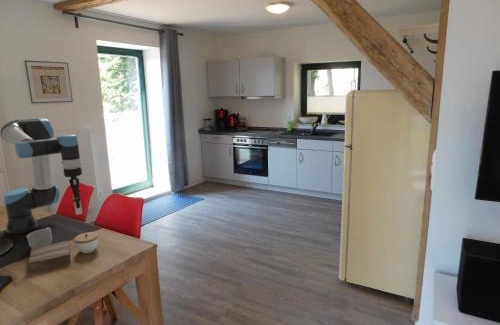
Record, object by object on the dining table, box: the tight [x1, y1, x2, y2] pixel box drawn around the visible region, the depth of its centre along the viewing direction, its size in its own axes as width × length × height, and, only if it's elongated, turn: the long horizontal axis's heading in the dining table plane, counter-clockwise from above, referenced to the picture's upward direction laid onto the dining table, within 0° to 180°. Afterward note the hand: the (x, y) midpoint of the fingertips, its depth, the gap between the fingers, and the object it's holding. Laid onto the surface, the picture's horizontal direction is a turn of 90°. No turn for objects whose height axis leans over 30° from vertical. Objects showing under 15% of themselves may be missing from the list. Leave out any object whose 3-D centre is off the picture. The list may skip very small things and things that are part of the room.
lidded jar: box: [74, 231, 99, 254], centre depth 162 cm, size 11×11×9 cm
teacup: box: [26, 227, 53, 249], centre depth 168 cm, size 14×11×8 cm
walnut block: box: [28, 240, 72, 273], centre depth 154 cm, size 16×16×5 cm
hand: (78, 209), depth 157 cm, fingers open, 13 cm apart
